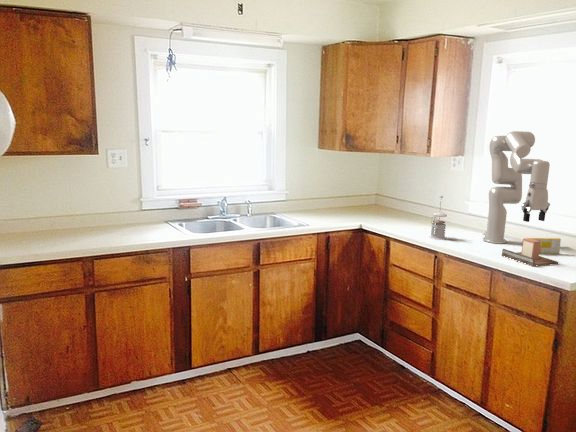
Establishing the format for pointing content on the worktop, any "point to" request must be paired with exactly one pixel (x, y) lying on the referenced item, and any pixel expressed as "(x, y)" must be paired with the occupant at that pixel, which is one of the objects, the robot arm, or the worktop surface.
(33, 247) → the worktop surface
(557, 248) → the candy box
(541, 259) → the shelf board
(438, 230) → the french press
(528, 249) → the tea box
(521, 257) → the rail
